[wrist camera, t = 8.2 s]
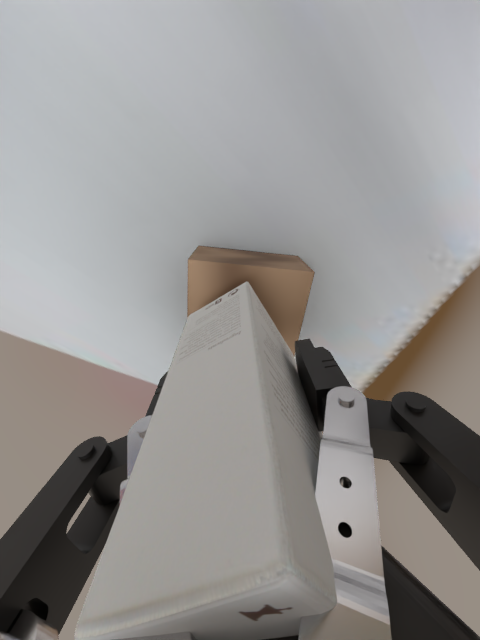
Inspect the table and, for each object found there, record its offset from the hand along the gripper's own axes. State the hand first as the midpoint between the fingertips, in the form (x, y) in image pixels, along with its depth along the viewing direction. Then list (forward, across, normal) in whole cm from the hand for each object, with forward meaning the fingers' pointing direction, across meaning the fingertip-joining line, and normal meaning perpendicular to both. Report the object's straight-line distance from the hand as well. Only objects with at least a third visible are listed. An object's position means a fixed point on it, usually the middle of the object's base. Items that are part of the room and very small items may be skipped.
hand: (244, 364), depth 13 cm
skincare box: (+3, 0, 0) cm, 3 cm away
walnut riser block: (+10, 0, 0) cm, 10 cm away
